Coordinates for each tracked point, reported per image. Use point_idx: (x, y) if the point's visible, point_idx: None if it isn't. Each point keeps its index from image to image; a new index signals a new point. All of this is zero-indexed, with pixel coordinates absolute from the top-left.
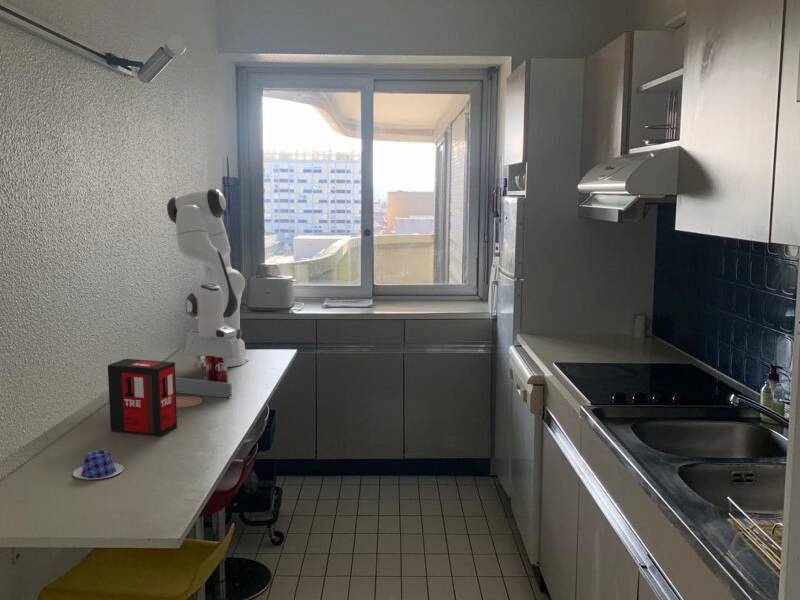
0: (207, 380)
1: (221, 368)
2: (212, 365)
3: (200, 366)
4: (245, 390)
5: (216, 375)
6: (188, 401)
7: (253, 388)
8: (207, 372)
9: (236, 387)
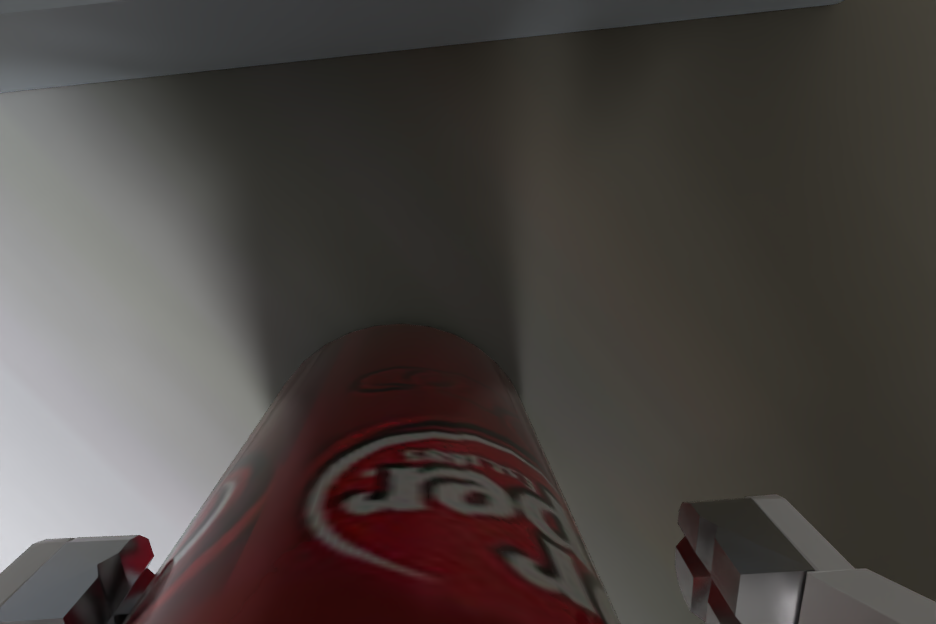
0: (481, 373)
1: (98, 556)
2: (264, 522)
3: (716, 513)
4: (28, 462)
5: (272, 422)
6: None
7: None
8: (463, 417)
9: None
